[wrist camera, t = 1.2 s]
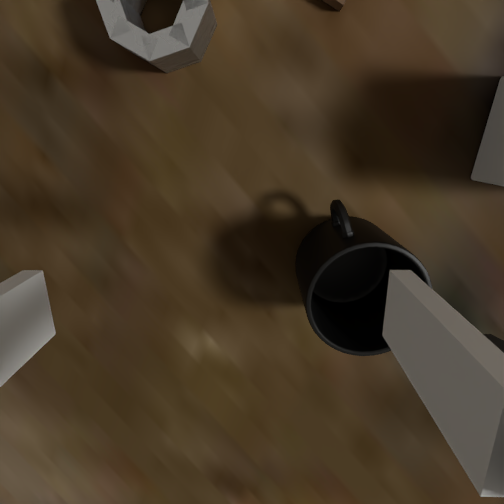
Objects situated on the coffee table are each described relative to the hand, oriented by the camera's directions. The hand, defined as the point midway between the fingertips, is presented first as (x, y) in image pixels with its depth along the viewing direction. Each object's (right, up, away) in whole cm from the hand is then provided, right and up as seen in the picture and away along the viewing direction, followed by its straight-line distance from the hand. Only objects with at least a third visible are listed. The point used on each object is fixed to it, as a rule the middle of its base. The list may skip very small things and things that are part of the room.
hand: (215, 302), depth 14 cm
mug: (+10, +2, +21) cm, 24 cm away
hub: (-5, +21, +16) cm, 27 cm away
